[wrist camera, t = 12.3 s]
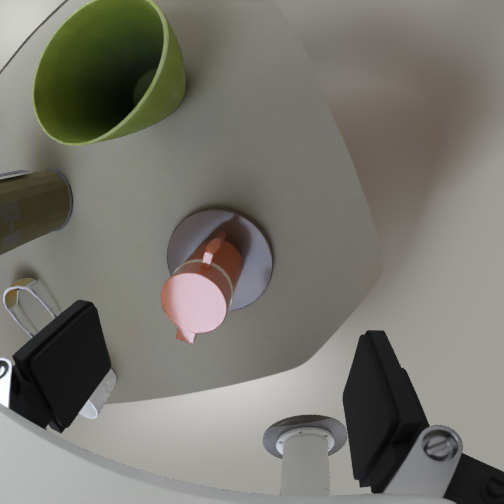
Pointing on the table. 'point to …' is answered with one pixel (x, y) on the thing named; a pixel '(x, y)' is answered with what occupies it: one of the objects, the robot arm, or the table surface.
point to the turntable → (237, 233)
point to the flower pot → (108, 73)
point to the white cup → (99, 396)
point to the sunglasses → (12, 298)
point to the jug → (202, 288)
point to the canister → (32, 206)
